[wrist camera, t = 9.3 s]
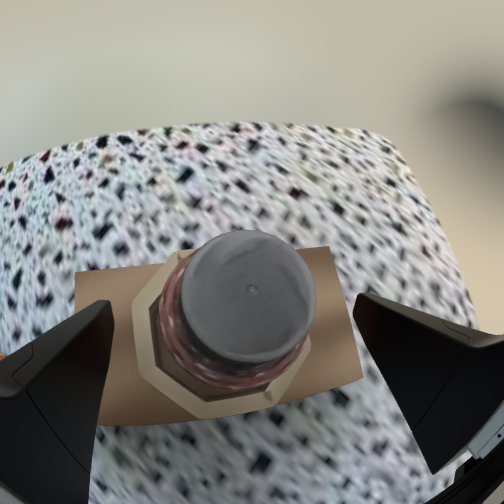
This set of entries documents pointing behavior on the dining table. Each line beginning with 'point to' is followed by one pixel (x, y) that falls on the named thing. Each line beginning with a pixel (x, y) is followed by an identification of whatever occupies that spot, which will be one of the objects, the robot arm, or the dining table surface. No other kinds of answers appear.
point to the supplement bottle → (238, 310)
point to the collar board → (184, 385)
